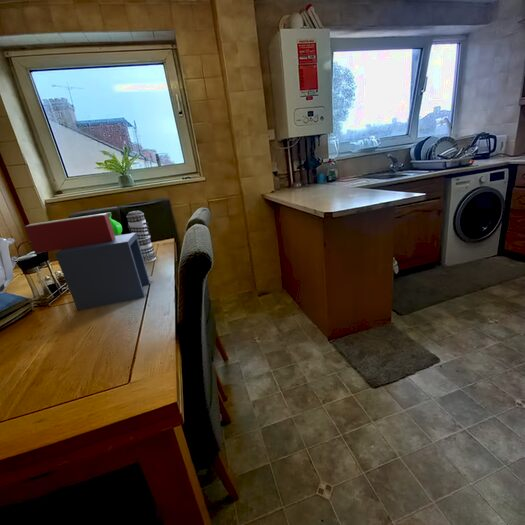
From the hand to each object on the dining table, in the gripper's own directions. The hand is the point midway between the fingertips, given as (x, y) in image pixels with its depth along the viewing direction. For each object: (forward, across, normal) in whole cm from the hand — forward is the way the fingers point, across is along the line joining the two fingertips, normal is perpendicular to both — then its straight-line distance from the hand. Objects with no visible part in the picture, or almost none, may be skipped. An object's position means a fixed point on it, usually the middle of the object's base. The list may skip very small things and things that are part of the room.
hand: (14, 249), depth 102 cm
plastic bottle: (+33, +25, +28) cm, 50 cm away
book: (-5, -16, +23) cm, 29 cm away
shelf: (-11, -2, +40) cm, 41 cm away
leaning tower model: (+26, +13, +42) cm, 52 cm away
